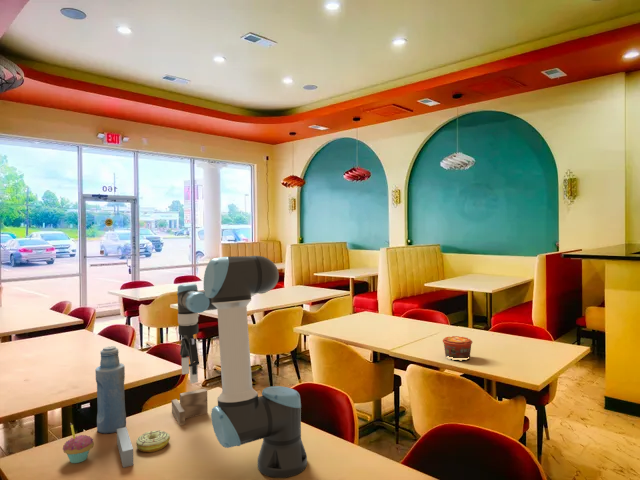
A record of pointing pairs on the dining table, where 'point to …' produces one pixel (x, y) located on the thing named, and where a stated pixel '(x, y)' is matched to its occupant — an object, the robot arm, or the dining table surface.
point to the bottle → (110, 392)
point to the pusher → (190, 405)
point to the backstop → (125, 447)
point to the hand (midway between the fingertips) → (189, 378)
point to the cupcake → (78, 447)
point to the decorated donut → (152, 441)
